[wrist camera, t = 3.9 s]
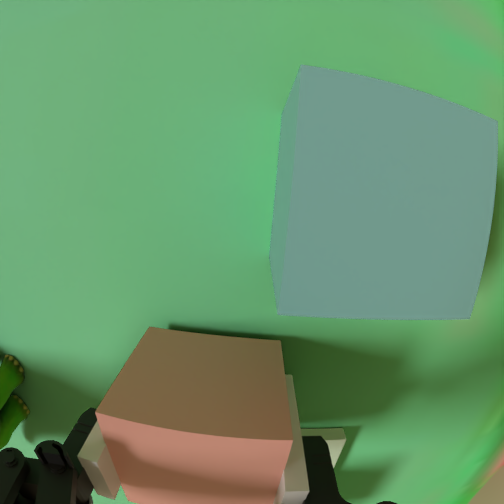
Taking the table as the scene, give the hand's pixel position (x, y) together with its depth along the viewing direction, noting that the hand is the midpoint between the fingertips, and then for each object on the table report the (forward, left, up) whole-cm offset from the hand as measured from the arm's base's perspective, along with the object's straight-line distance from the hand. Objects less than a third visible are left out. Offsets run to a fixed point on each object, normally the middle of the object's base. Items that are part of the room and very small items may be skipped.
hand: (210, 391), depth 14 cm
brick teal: (-10, +5, -1) cm, 11 cm away
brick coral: (0, 0, 0) cm, 0 cm away
